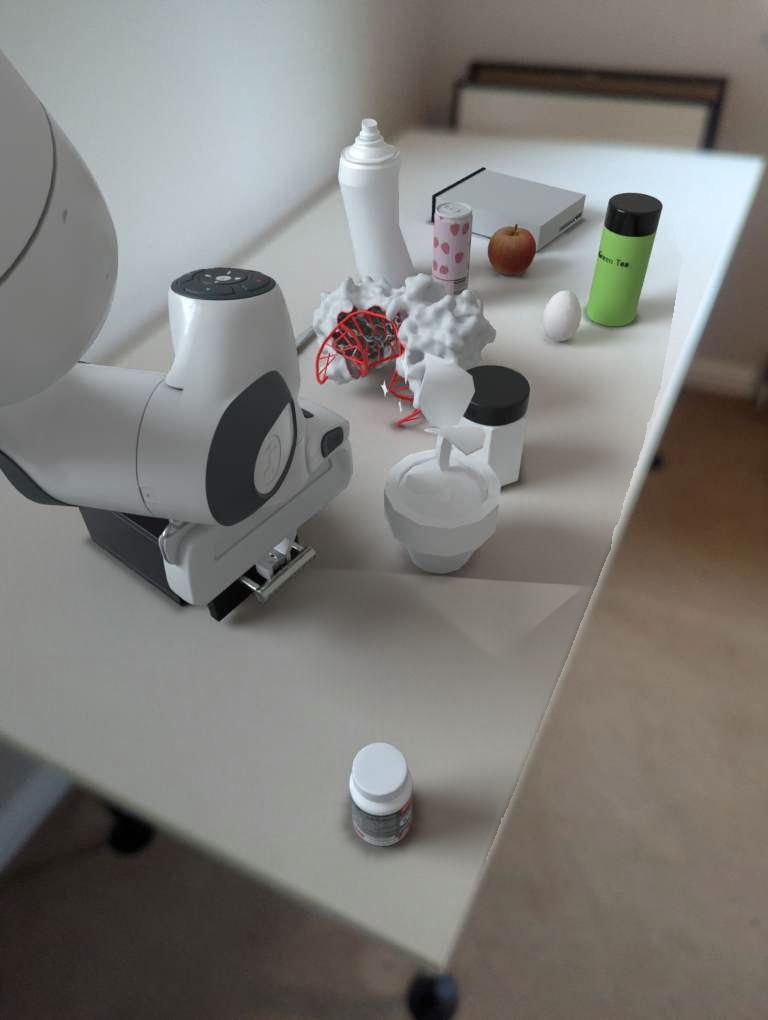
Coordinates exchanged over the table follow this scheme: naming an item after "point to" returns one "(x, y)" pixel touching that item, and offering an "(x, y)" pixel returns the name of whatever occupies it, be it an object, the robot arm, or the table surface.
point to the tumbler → (623, 258)
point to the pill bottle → (381, 794)
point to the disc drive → (514, 204)
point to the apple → (511, 250)
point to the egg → (562, 316)
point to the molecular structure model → (397, 330)
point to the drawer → (260, 582)
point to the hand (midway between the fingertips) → (274, 568)
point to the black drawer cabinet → (132, 543)
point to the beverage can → (452, 246)
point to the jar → (499, 418)
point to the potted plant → (443, 478)
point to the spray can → (374, 207)
